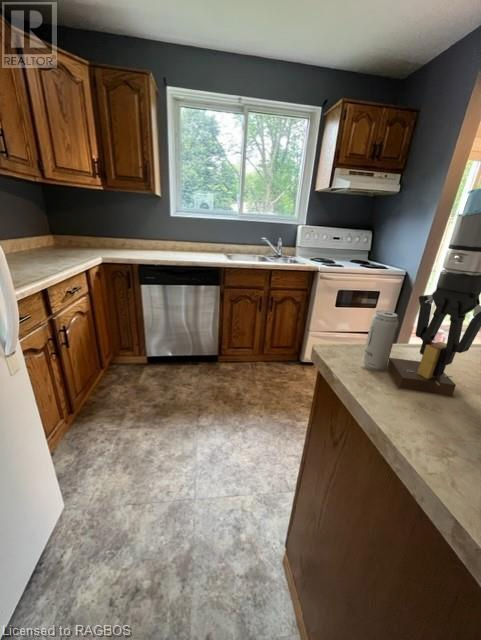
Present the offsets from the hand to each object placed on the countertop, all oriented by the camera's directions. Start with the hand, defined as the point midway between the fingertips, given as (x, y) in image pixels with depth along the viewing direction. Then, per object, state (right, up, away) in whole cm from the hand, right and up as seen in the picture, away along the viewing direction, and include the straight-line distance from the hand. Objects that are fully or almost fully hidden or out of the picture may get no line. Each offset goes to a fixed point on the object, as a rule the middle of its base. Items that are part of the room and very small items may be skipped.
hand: (430, 371), depth 64 cm
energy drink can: (-9, -1, +9) cm, 13 cm away
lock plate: (-1, -3, +3) cm, 4 cm away
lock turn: (0, -1, 0) cm, 1 cm away
